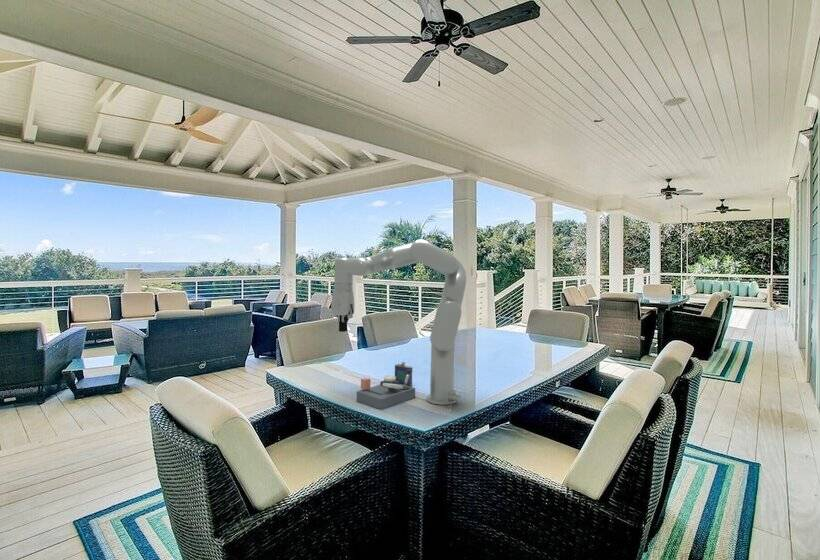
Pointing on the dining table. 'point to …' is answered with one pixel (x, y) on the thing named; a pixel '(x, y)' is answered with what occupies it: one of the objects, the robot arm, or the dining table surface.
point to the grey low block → (385, 395)
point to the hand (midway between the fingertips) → (343, 331)
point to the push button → (389, 379)
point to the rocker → (392, 385)
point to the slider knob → (365, 383)
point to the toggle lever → (407, 377)
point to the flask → (403, 374)
